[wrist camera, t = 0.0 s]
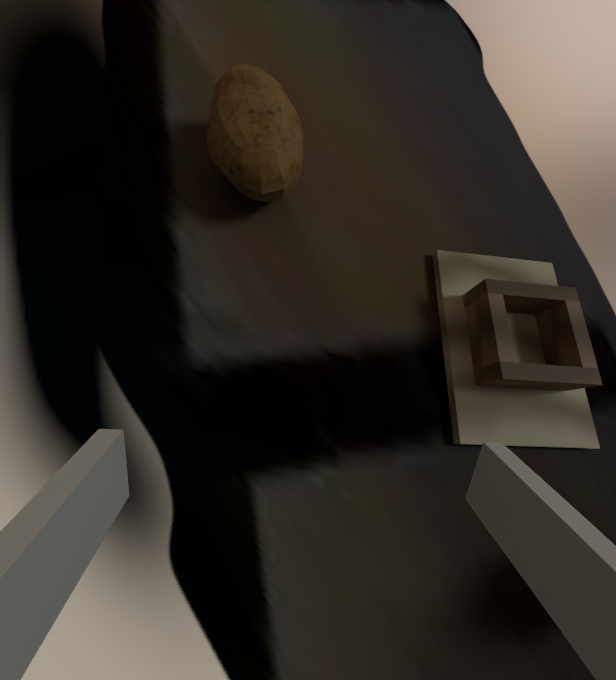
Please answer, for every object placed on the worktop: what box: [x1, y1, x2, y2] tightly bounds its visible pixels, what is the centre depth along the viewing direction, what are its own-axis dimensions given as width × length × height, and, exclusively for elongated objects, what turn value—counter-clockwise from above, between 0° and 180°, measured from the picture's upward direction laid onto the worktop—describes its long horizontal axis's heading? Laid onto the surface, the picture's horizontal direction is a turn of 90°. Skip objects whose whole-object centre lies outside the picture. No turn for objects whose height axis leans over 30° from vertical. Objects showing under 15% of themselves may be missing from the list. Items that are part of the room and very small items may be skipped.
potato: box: [206, 64, 303, 202], centre depth 31 cm, size 10×14×8 cm
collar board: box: [432, 250, 602, 449], centre depth 30 cm, size 20×14×4 cm
